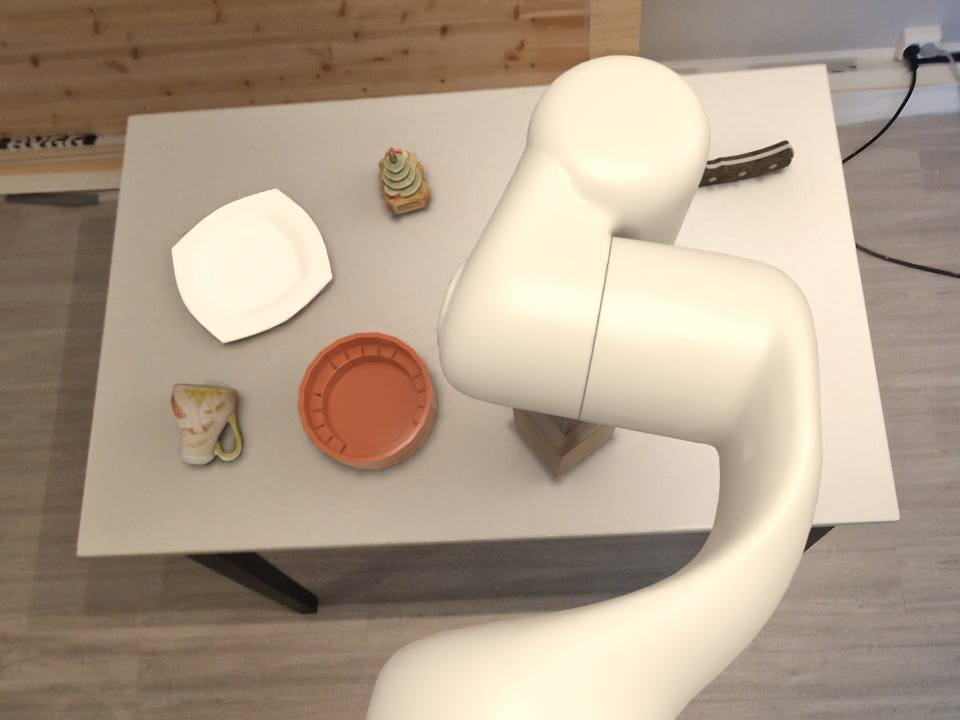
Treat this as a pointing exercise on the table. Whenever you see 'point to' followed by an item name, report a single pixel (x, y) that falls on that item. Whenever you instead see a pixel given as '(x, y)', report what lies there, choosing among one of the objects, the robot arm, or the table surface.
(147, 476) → the table surface
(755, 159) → the knife
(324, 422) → the bowl
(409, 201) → the ornament
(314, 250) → the plate
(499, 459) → the table surface
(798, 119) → the table surface
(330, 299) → the table surface
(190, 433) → the mug
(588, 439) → the utensil stand
